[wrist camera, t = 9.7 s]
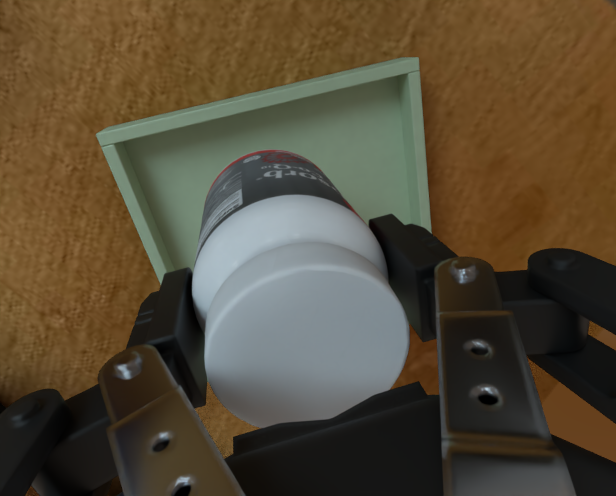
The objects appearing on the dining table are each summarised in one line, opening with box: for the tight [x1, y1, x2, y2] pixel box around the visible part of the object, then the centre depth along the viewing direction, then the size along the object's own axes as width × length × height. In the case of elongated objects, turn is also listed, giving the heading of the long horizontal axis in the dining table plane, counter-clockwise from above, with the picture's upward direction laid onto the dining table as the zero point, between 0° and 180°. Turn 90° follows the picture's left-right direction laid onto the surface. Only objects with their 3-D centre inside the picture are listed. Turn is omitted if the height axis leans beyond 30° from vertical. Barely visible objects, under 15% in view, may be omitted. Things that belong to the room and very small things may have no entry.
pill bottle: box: [192, 149, 410, 428], centre depth 13 cm, size 6×6×10 cm
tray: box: [96, 57, 432, 382], centre depth 23 cm, size 15×15×2 cm
